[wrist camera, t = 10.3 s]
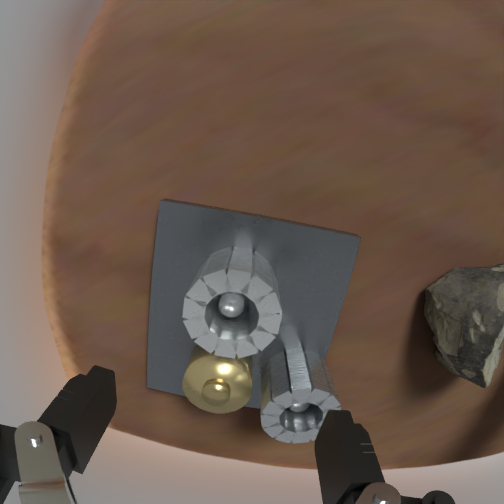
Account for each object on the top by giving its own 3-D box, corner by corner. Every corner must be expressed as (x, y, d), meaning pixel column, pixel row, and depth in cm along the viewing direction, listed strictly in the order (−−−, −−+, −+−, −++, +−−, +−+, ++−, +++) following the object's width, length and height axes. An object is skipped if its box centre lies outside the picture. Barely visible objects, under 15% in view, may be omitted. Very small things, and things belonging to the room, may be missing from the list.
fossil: (514, 322, 24) (531, 397, 17) (439, 344, 30) (437, 421, 22) (502, 232, 22) (536, 302, 14) (414, 263, 27) (413, 339, 19)
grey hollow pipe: (329, 345, 24) (343, 383, 19) (326, 397, 25) (337, 438, 20) (258, 351, 24) (258, 392, 19) (262, 403, 25) (263, 445, 21)
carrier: (356, 234, 23) (380, 251, 18) (303, 404, 27) (310, 443, 22) (164, 198, 22) (141, 207, 18) (150, 379, 26) (134, 415, 22)
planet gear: (283, 254, 22) (290, 279, 17) (267, 325, 23) (270, 364, 19) (203, 240, 22) (188, 261, 17) (193, 312, 23) (179, 348, 18)
